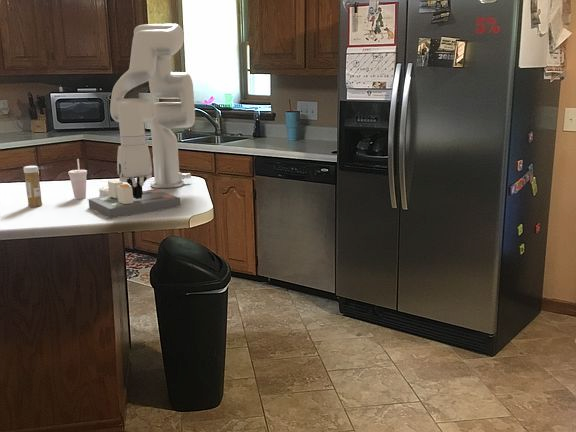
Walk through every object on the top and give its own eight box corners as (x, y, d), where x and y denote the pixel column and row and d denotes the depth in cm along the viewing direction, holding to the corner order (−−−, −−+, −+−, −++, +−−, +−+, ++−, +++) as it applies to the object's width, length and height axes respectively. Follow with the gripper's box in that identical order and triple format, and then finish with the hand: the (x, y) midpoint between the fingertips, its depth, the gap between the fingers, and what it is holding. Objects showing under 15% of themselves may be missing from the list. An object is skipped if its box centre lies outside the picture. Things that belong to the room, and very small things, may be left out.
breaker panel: (156, 197, 219) (155, 188, 218) (180, 206, 205) (179, 197, 204) (89, 207, 205) (88, 198, 204) (110, 218, 191) (109, 208, 190)
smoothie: (83, 200, 216) (80, 160, 212) (67, 199, 217) (63, 160, 214) (93, 196, 222) (89, 157, 218) (76, 195, 223) (72, 157, 220)
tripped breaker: (126, 200, 200) (125, 182, 198) (133, 202, 196) (132, 185, 195) (118, 201, 198) (116, 184, 197) (124, 204, 194) (122, 186, 193)
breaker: (117, 194, 208) (116, 179, 207) (123, 197, 204) (122, 182, 203) (109, 195, 206) (107, 181, 205) (115, 198, 203) (113, 183, 201)
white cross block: (95, 199, 218) (94, 189, 217) (106, 192, 230) (105, 182, 229) (129, 199, 217) (128, 189, 217) (138, 192, 229) (137, 182, 228)
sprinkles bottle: (42, 206, 207) (38, 166, 204) (28, 208, 206) (23, 167, 202) (42, 203, 211) (37, 164, 208) (27, 205, 210) (22, 165, 206)
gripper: (149, 137, 202) (153, 192, 207) (105, 142, 193) (110, 199, 198) (160, 140, 196) (164, 196, 201) (115, 144, 187) (120, 203, 192)
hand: (137, 197), depth 199 cm, fingers closed
